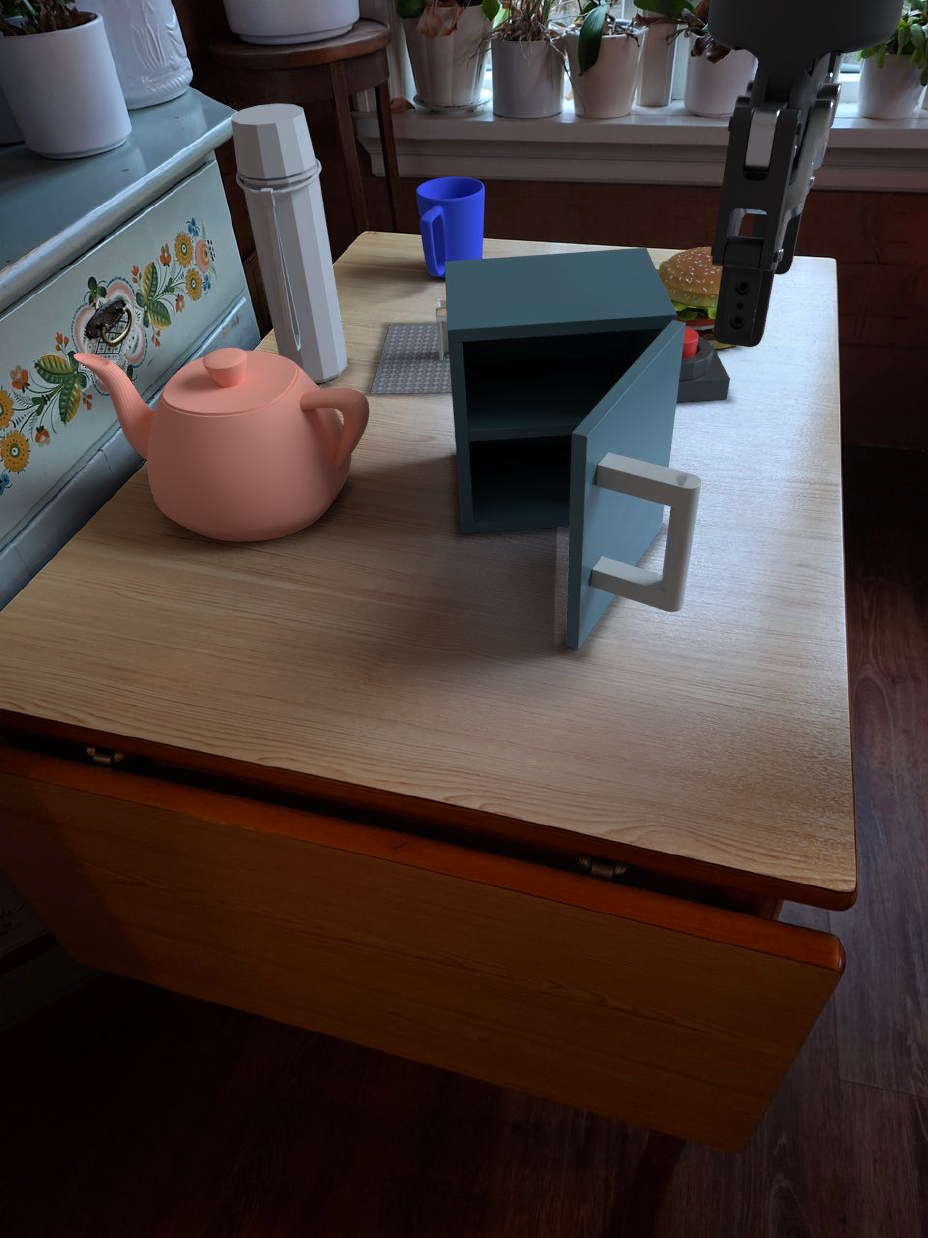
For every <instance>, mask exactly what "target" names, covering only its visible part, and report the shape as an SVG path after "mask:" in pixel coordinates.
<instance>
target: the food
mask: <svg viewBox="0 0 928 1238" xmlns="http://www.w3.org/2000/svg"><path fill="white" fill-rule="evenodd" d="M711 248H712V246H704V247H703V246H702V247H699V246H698V247H694V248H689V249H687V250H683V251H680V252H677V253H675V254H674V255H672V256H671V257H669V258H668V259H667V260H664V261H662V262H661V263H659V265H658V268H656V270H657V272H658V274H659V277H660V279H661V281H662V283H663V285H664V287H665V290H666V292H667V294H668V296H669V298H670V301H671V303H672V305H673V307H674V309H675V311H676V314H677V318H676V321H680V322H685V323H686V325H685V327H688V328H691V329H693V330H695V331H696V332H697V333H698V336H700V337H701V338H703V339H705V340H707V341H709V342H710V344H711V346H712V345H713V346H714V348H715V350H716V349H725V348H730V347H734V346H735V347H736V345H729V344H722V343H719V342H717V341H716V340H715V338H714V335H713V332H714V325H715V318H716V311H717V303H718V296H719V289H720V282H721V275H722V267H723V266H714V265H712V256H711ZM769 309H770V306H769V307H768V311H769Z"/></svg>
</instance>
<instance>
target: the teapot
mask: <svg viewBox="0 0 928 1238" xmlns="http://www.w3.org/2000/svg"><path fill="white" fill-rule="evenodd" d="M73 358H74V360H75V361H77V362H78V363H79V364H80V365H82V366H84V368H86V369H87V370H89V371H91V372H92V373H93V374H94V375H95V376H96V377H97V378H98V379H99V380H100V381H101V383H102V384H103V386H104V388H105V389H106V391H107V392H108V394H109V397H110V400H111V402H112V405H113V407H114V411H115V414H116V417H117V421H118V423H119V425H120V428H121V431H122V433H123V435H124V437H125V439H126V440H127V442H128V443H129V445H130V446H131V448H132V449H133V450H134V451H135V452H136V453H138V454H139V456H141V457H142V458H143V459H144V460H146V464H147V465H146V467H147V476H148V482H149V486H150V487H149V488H150V491H151V494H152V498H153V501H154V502H155V504H156V506H157V508H159V510H160V511H161V513H163V514H164V515H165V516H166V517H167V518H169V519H170V520H172V522H174V523H177V524H178V525H180V526H181V527H183V528H185V529H187V530H189V531H192V532H194V533H197V534H199V535H200V536H204V537H207V538H211V539H214V540H218V541H219V540H220V541H227V542H257V541H267V540H274V539H279V538H283V537H286V536H287V537H288V536H290V535H292V534H295V533H296V534H297V532H300V531H302V530H305V529H306V528H308V527H309V526H312V525H313V524H315V523H316V522H317V521H318V520H320V518H321V517H322V516H323V515H324V514H325V513H326V512H327V511H328V509H329V508H330V507H331V505H332V504H333V502H334V501H335V500H336V498H337V497H338V495H339V494H340V493H341V491H342V489H343V487H344V485H345V483H346V481H347V479H348V477H349V474H350V470H351V466H352V465H351V464H352V456H353V455H352V454H353V452H354V451H355V450H356V448H357V446H358V445H359V443H360V441H361V440H362V437H363V436H364V433H365V432H366V429H367V427H368V423H369V419H370V403H369V401H368V398H367V397H366V396H365V394H363V392H361V391H359V390H356V389H353V388H347V387H346V388H345V387H344V388H343V387H340V388H339V387H337V388H335V387H334V388H326V389H325V388H324V389H321V388H320V387H319V386H318V385H317V383H314V381H313V380H312V379H311V378H310V377H309V376H308V375H307V374H306V373H305V372H304V371H303V370H302V369H301V368H300V367H299V366H298V365H297V364H296V363H295V362H293V361H292V360H290V359H288V358H286V357H283V356H281V355H279V354H277V353H273V352H268V351H261V350H244V349H241V348H238V347H223V348H222V347H221V348H217V349H215V350H213V351H210V352H208V353H207V354H206V355H204V356H201V357H198V358H196V359H193V360H191V361H190V362H188V363H186V364H185V365H184V366H183V367H181V368H180V369H178V370H177V371H176V372H175V373H174V374H173V376H171V378H170V379H169V380H168V381H167V383H165V385H164V387H163V388H162V391H161V393H160V396H159V399H158V401H157V404H156V407H155V410H154V409H153V408H151V407H150V406H149V405H148V404H147V403H146V402H145V401H144V399H143V398H142V397H141V396H140V393H139V392H138V390H137V389H136V388H135V385H134V384H133V382H132V381H131V379H130V378H129V377H128V375H127V374H126V373H125V371H123V369H122V368H121V367H119V366H118V365H117V364H116V363H115V362H114V361H112V360H110V359H109V358H106V357H105V356H101V355H98V354H93V353H90V352H89V353H88V352H77V353H75V354H73ZM337 411H339V412H340V413H341V414H342V418H343V421H342V419H341V418H340V415H339V414H338V412H337Z"/></svg>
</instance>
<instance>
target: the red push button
mask: <svg viewBox="0 0 928 1238" xmlns="http://www.w3.org/2000/svg"><path fill="white" fill-rule="evenodd" d="M697 344H698V333H697V332H696V331H695V330H693V329H691V328H688V327H685V334H684V342H683V351H682V358H688V357H691V356H693V355H695V354H696V351H697Z"/></svg>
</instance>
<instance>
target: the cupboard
mask: <svg viewBox="0 0 928 1238" xmlns="http://www.w3.org/2000/svg"><path fill="white" fill-rule="evenodd" d="M656 269H657V268H656V265H655V263H654V261H653V260H652V257H651V254H650V253H649V250H648V248H647V247H636V248H635V247H634V248H633V247H632V248H621V249H620V248H619V249H604V250H593V251H578V252H575V251H574V252H562V253H561V252H560V253H549V254H534V255H533V254H532V255H518V256H504V257H490V258H482V259H474V260H459V261H445V278H444V282H445V283H444V284H445V299H446V310H447V333H448V347H449V360H450V374H451V388H452V392H451V398H452V399H451V400H452V401H451V402H452V411H453V412H452V413H453V425H454V428H453V429H454V437H455V438H454V441H455V442H454V443H455V451H456V452H455V453H456V455H455V456H456V466H457V468H456V469H457V480H458V481H457V482H458V495H459V506H460V523H461V534H473V533H474V534H477V533H489V532H504V531H507V532H508V531H520V530H536V529H537V530H538V529H552V528H565V527H566V528H567V527H568V528H569V516H570V481H571V447H572V432H573V431H574V430H575V429H576V428H577V427H578V426H579V424H580V423H581V422H582V421H583V420H584V419H585V418H586V417H587V415H588V414H589V413H590V412H591V411H592V410H593V409H594V408H595V406H596V405H597V404H598V403H599V402H600V401H601V400H602V399H603V397H604V396H605V395H606V394H607V393H608V392H609V391H610V390H611V388H612V387H613V386H614V385H615V384H616V383H617V382H618V381H619V379H620V378H621V377H622V376H623V375H624V374H625V373H626V372H627V370H628V369H629V368H630V367H631V366H632V365H633V364H634V363H635V361H636V360H637V359H638V358H639V357H640V356H641V355H642V354H643V353H644V351H645V350H646V349H647V348H648V347H649V346H650V345H651V344H652V342H653V341H654V340H655V339H656V338H657V337H658V336H659V335H660V333H661V332H662V331H663V330H664V329H665V328H666V327H667V326H668V324H669V323H670V322H671V321H672V320H674V321H676V318H677V314H676V311H675V309H674V307H673V305H672V303H671V301H670V298H669V296H668V294H667V292H666V290H665V287H664V285H663V283H662V281H661V279H660V277H659V274H658V272H657V270H656Z"/></svg>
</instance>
